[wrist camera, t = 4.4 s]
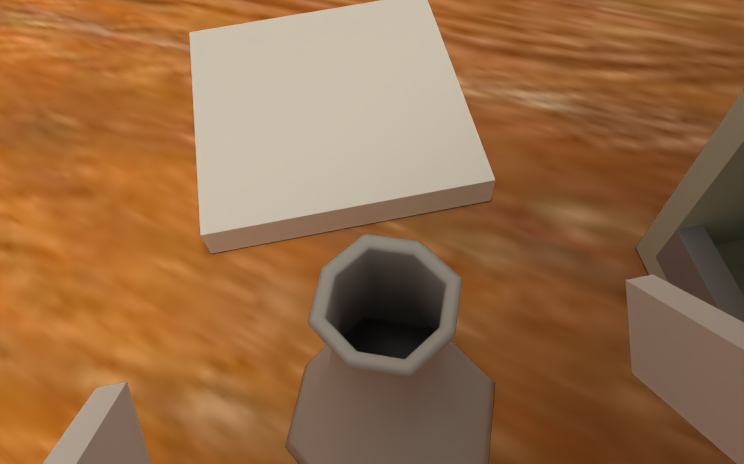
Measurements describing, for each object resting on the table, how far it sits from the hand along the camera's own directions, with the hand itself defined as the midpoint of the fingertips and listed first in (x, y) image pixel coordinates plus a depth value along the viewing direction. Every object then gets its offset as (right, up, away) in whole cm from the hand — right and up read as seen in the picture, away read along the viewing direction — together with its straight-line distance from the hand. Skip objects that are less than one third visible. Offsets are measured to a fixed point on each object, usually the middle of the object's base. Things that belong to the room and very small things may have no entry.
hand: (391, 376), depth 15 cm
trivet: (-2, +9, +13) cm, 16 cm away
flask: (0, -3, +6) cm, 7 cm away
